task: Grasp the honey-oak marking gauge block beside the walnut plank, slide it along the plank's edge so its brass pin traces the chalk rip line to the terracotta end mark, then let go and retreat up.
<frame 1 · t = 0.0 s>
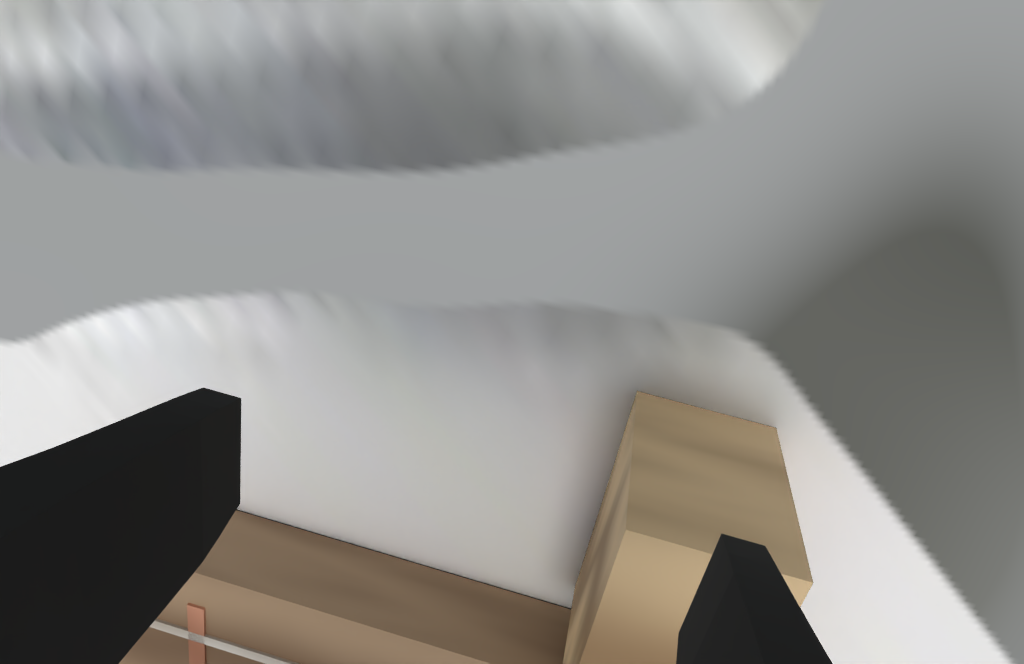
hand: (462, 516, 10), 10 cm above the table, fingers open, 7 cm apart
walnut plank: (416, 643, 27), on the table
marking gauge: (666, 513, 22), on the table
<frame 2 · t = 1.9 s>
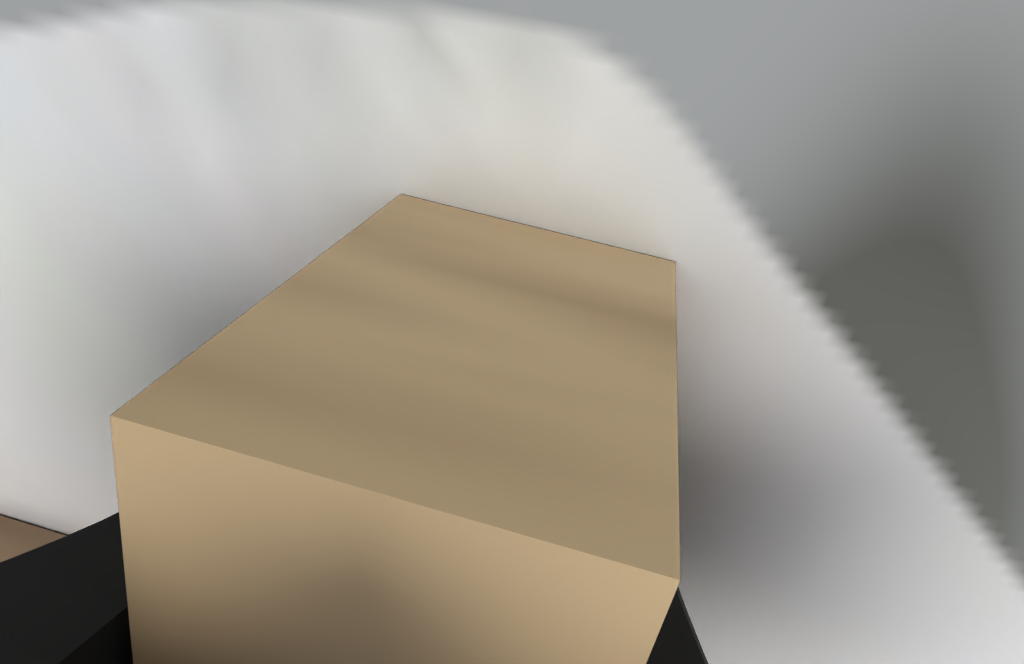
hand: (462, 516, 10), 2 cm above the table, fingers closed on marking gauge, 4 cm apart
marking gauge: (487, 452, 12), on the table, touching gripper
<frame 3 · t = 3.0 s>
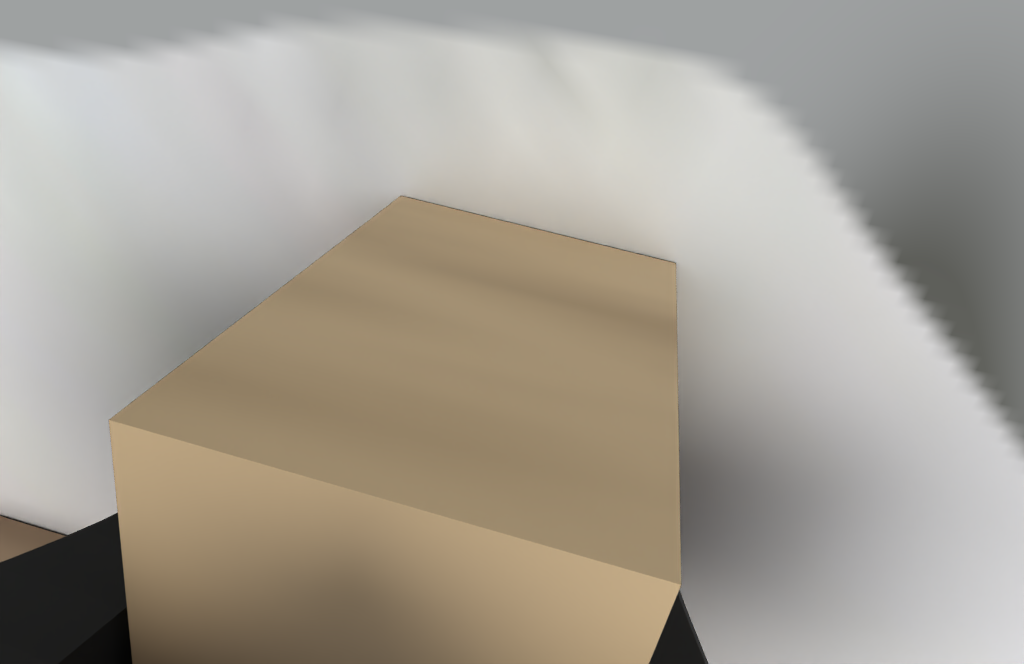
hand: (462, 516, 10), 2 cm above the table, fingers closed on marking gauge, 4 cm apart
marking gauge: (488, 453, 12), on the table, touching gripper
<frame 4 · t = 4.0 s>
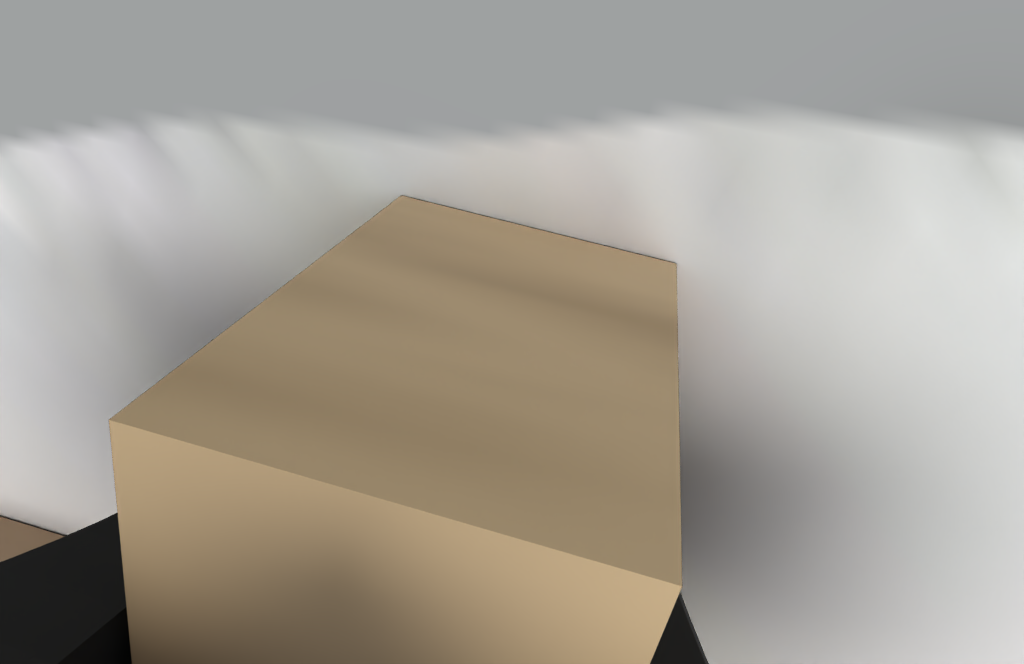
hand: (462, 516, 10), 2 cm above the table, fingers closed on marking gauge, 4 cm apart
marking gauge: (488, 453, 12), on the table, touching gripper
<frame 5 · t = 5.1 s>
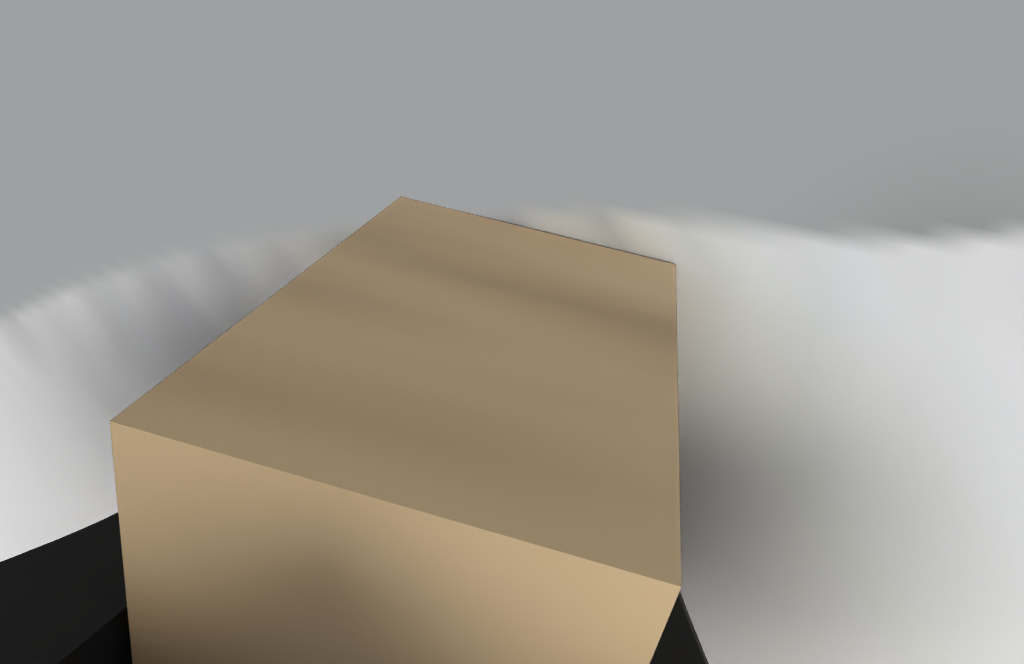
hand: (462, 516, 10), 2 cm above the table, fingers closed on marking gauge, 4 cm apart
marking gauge: (488, 454, 12), on the table, touching gripper
when the fingers open (2 cm above the table, at t = 6.1 s): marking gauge stays where it is, on the table.
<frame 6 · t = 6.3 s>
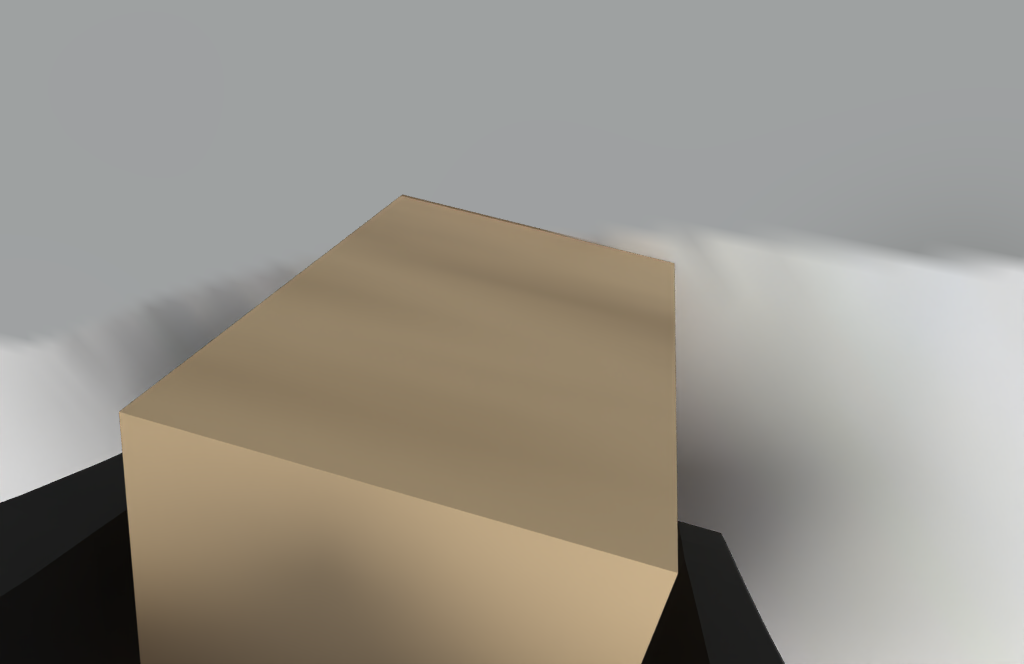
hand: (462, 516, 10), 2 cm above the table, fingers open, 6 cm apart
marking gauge: (488, 450, 12), on the table
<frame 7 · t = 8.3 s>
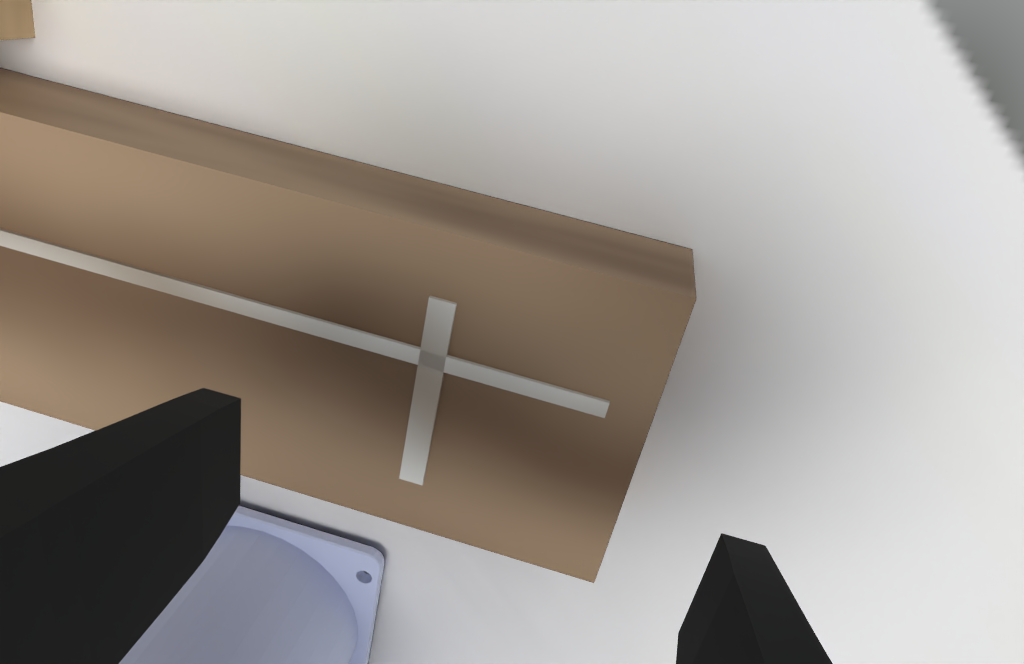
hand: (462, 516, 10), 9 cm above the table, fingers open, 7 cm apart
walnut plank: (217, 270, 20), on the table
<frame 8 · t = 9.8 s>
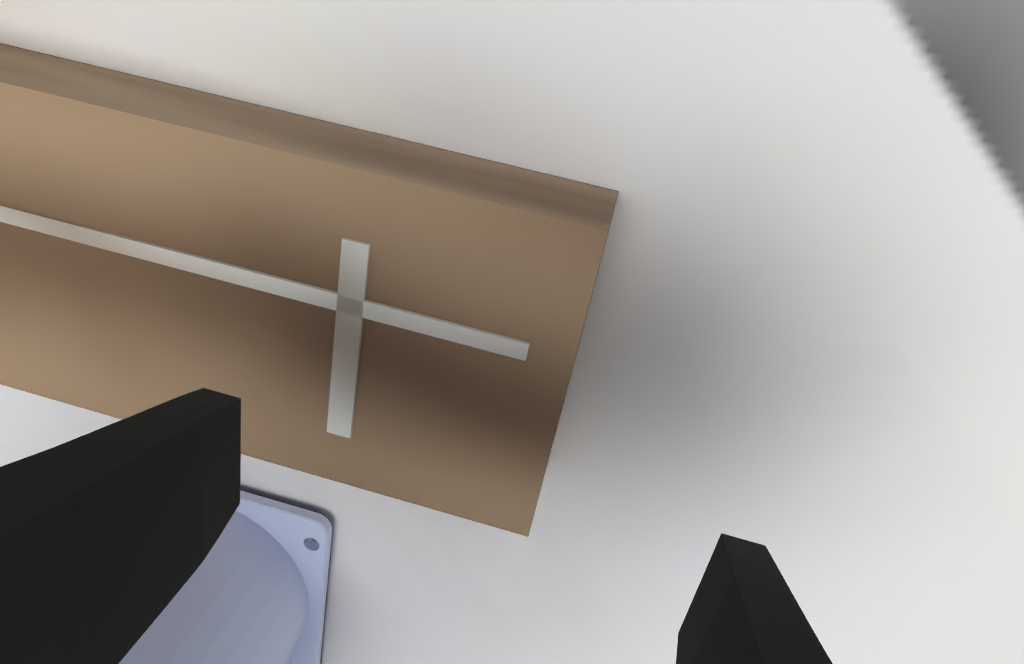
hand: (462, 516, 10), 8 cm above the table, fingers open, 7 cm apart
walnut plank: (149, 229, 19), on the table
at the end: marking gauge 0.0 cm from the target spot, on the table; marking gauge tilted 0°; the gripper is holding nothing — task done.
